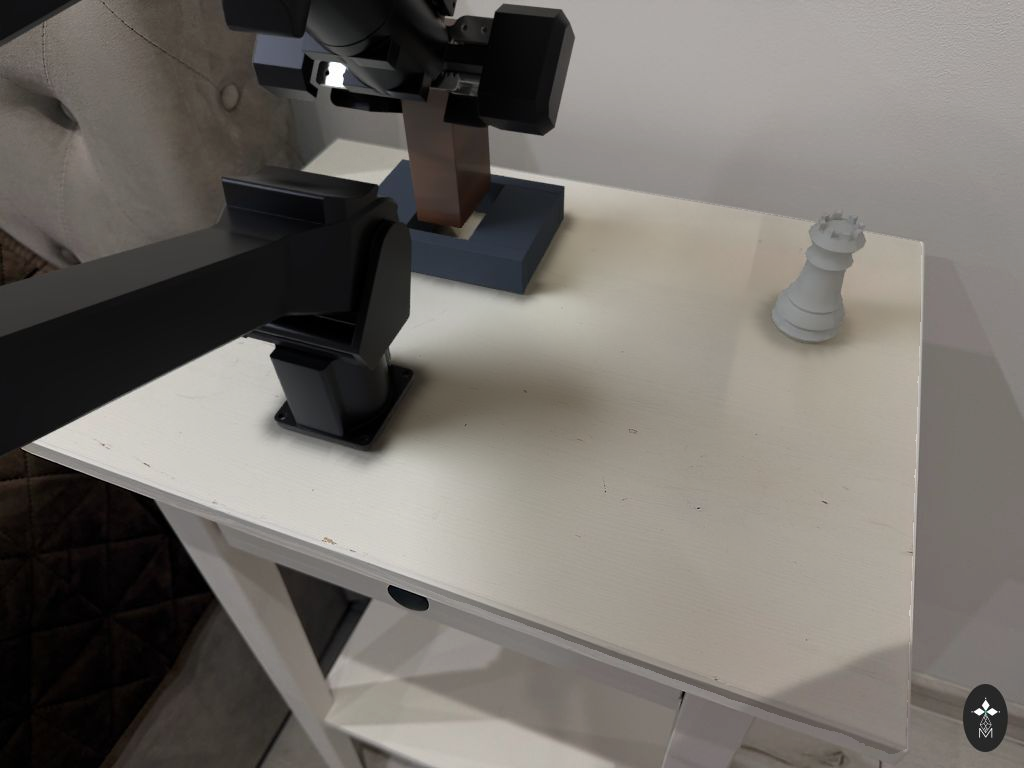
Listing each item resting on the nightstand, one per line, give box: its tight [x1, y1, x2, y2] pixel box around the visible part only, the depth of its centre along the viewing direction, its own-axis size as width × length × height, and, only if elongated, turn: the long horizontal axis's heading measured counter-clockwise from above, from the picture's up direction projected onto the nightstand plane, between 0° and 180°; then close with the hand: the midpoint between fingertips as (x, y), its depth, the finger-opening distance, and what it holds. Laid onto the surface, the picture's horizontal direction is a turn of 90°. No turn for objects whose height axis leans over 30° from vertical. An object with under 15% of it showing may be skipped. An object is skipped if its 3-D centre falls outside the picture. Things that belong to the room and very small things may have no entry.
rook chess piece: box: [771, 210, 867, 344], centre depth 44 cm, size 4×4×8 cm
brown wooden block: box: [401, 17, 492, 230], centre depth 48 cm, size 4×6×12 cm, turn 160°
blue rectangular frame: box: [377, 158, 566, 295], centre depth 53 cm, size 10×14×3 cm
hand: (455, 110), depth 48 cm, fingers closed on brown wooden block, 3 cm apart
